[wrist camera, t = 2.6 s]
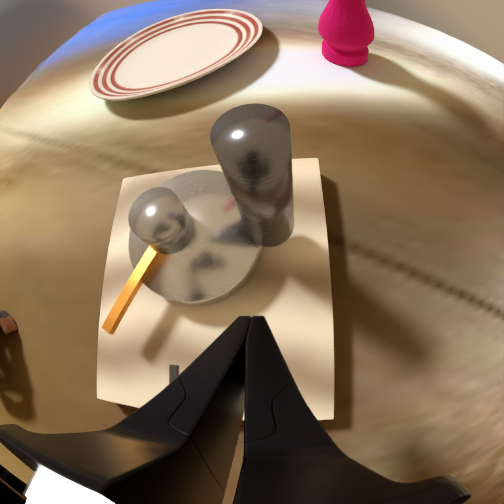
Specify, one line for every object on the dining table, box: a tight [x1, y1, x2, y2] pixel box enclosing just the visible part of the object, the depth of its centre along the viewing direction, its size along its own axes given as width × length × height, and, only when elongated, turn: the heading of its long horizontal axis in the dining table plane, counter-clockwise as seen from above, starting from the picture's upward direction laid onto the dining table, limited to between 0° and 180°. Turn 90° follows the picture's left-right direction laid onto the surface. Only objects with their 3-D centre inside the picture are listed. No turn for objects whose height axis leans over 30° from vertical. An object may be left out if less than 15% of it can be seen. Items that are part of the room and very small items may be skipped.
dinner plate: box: [89, 9, 263, 101], centre depth 35 cm, size 27×27×3 cm
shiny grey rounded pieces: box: [102, 104, 294, 335], centre depth 16 cm, size 13×13×11 cm
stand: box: [97, 158, 334, 420], centre depth 22 cm, size 20×18×2 cm
